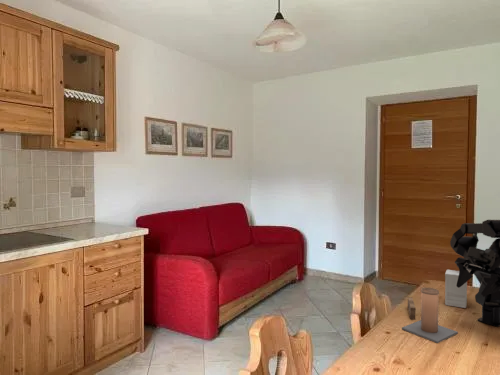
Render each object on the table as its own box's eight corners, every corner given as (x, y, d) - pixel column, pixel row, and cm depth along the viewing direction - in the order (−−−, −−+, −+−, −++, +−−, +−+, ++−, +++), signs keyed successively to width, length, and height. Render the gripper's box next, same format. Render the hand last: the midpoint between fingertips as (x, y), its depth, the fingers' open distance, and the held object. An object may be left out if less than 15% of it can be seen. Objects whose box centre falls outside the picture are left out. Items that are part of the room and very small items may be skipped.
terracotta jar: (419, 325, 122) (420, 286, 122) (437, 327, 121) (437, 288, 120) (421, 331, 117) (421, 291, 117) (439, 333, 116) (439, 293, 115)
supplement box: (467, 303, 145) (467, 271, 145) (466, 308, 139) (467, 275, 139) (446, 299, 149) (446, 268, 149) (444, 305, 143) (445, 273, 142)
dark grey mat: (422, 321, 127) (422, 319, 127) (457, 333, 117) (457, 331, 117) (401, 329, 121) (401, 327, 121) (437, 343, 111) (437, 341, 111)
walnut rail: (407, 307, 141) (407, 296, 140) (412, 307, 140) (412, 297, 140) (410, 318, 129) (410, 307, 129) (415, 319, 129) (415, 308, 129)
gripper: (459, 234, 127) (433, 267, 125) (511, 243, 110) (481, 283, 107) (476, 255, 130) (451, 288, 127) (529, 267, 112) (501, 307, 109)
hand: (469, 291), depth 118 cm, fingers open, 9 cm apart
